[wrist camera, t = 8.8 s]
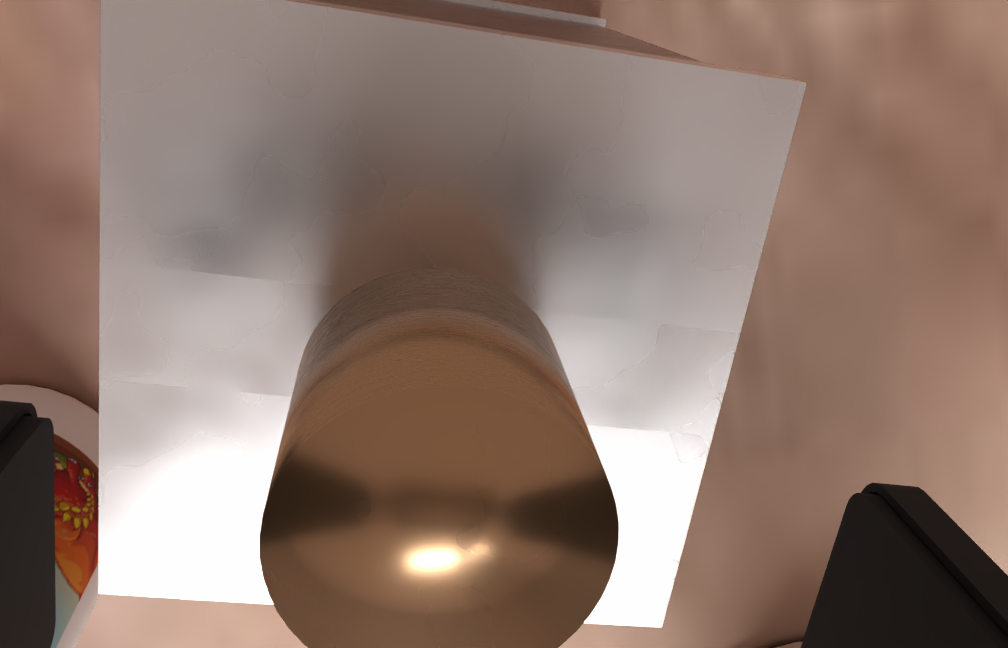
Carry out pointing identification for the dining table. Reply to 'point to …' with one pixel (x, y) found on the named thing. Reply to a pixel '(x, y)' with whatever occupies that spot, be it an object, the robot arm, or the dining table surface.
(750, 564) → the dining table surface
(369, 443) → the plunger
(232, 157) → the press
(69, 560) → the milk bottle
